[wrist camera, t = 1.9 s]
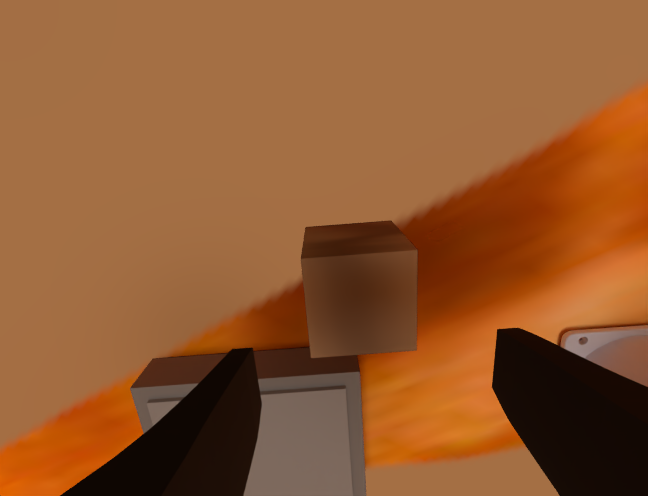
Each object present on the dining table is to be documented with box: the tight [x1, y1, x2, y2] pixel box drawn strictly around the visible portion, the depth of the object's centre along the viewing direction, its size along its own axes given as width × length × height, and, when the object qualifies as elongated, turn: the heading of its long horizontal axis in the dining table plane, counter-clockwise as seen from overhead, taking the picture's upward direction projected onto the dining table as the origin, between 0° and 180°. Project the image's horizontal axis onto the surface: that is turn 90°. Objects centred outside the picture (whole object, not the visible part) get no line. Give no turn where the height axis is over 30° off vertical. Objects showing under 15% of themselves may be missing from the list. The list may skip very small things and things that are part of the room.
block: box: [301, 221, 418, 358], centre depth 16 cm, size 4×4×5 cm
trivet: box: [130, 347, 366, 496], centre depth 20 cm, size 12×12×3 cm
